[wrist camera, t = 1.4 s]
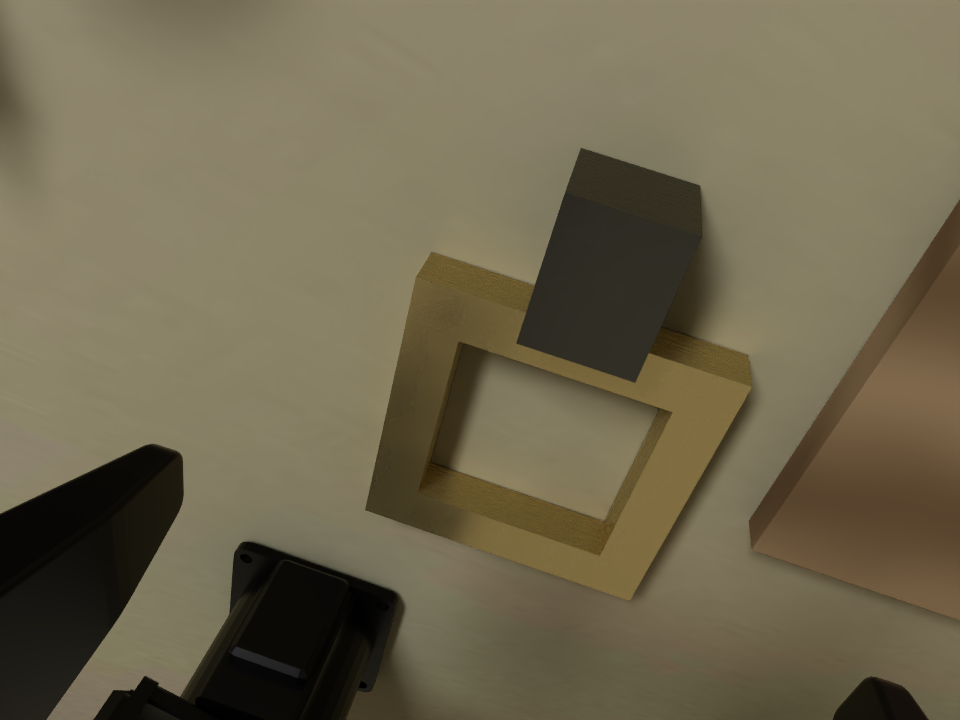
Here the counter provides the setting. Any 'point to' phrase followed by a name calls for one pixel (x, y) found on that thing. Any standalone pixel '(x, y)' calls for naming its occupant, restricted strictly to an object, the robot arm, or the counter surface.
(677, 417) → the brass link
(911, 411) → the plate
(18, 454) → the counter surface
